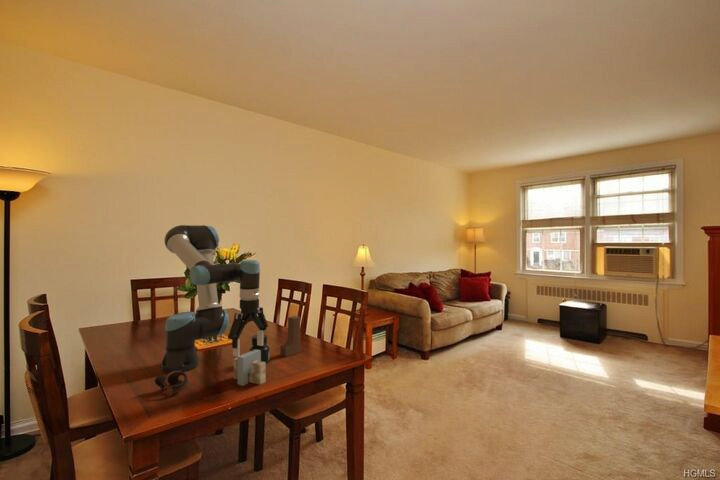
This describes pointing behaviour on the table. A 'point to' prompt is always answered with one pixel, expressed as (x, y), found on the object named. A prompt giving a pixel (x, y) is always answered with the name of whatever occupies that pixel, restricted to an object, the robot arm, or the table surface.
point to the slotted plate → (246, 365)
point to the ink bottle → (261, 348)
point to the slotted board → (253, 372)
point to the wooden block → (292, 337)
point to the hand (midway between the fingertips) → (248, 350)
